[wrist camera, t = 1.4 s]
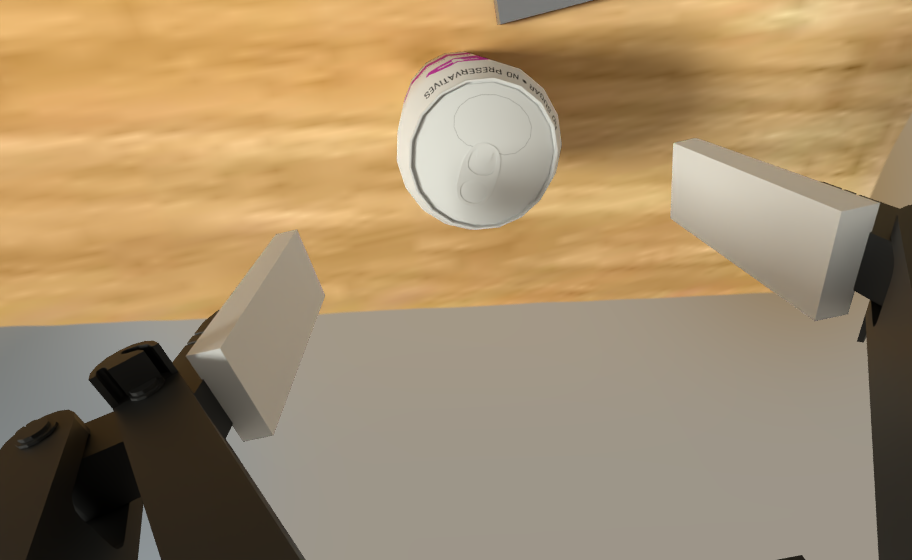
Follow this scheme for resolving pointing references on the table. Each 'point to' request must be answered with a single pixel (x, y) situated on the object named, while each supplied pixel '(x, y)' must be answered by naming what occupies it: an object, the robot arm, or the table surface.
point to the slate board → (528, 8)
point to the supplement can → (476, 141)
